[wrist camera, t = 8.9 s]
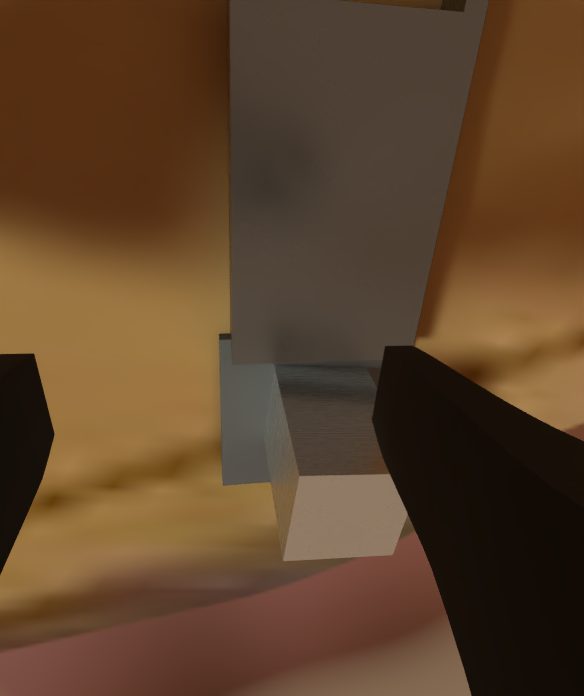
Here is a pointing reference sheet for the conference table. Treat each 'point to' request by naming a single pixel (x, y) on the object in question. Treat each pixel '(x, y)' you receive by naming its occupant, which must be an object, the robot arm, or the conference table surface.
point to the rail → (339, 169)
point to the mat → (253, 412)
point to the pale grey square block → (329, 465)
